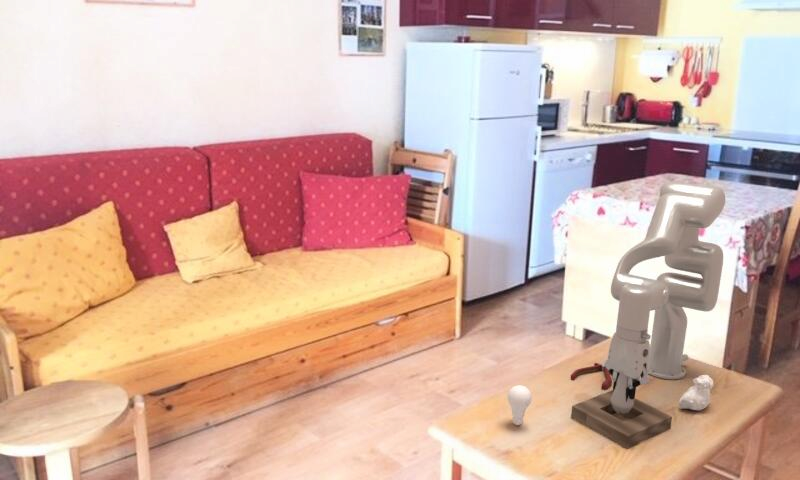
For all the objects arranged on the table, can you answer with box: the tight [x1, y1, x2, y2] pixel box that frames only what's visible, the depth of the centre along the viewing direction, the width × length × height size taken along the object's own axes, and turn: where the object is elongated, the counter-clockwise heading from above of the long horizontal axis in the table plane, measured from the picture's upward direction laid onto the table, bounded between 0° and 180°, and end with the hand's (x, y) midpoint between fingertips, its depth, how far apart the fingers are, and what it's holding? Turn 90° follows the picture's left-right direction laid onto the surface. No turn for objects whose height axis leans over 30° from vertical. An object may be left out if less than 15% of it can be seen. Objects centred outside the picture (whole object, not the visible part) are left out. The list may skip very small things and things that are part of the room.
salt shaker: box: [611, 369, 634, 414], centre depth 178 cm, size 6×6×13 cm
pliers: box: [570, 358, 613, 391], centre depth 209 cm, size 12×20×3 cm, turn 142°
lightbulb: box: [507, 384, 533, 426], centre depth 177 cm, size 6×6×11 cm
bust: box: [678, 374, 714, 412], centre depth 188 cm, size 12×8×11 cm
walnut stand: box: [570, 389, 673, 450], centre depth 180 cm, size 18×18×4 cm
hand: (623, 397), depth 179 cm, fingers closed on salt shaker, 3 cm apart
